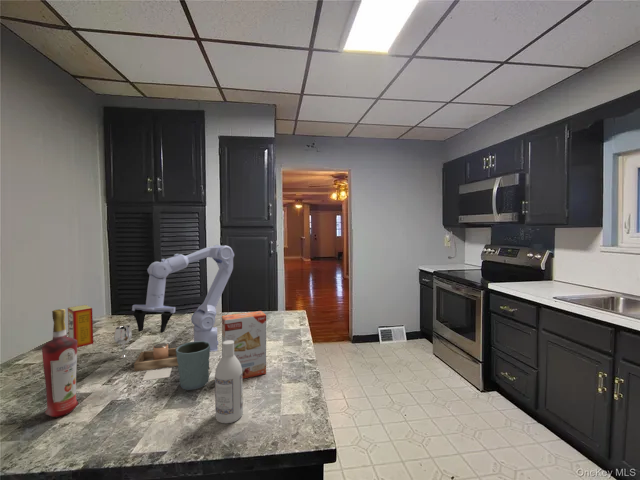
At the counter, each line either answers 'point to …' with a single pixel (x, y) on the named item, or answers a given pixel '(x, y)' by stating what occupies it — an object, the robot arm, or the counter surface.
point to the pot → (160, 351)
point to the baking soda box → (80, 324)
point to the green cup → (193, 364)
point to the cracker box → (247, 340)
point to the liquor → (60, 368)
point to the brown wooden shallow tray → (155, 361)
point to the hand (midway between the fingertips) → (151, 331)
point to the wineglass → (122, 336)
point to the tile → (157, 374)
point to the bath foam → (228, 386)
